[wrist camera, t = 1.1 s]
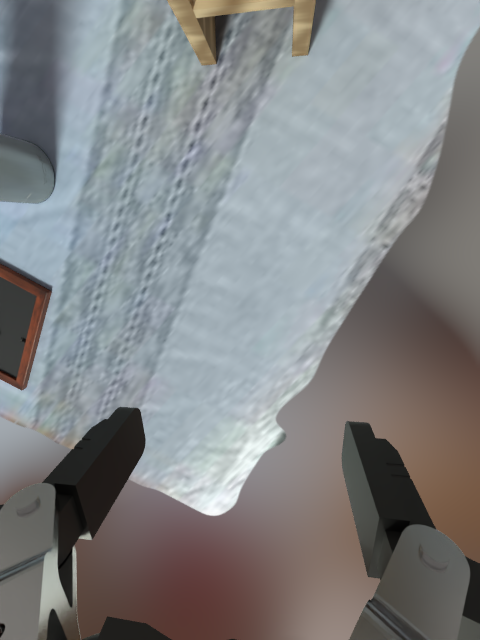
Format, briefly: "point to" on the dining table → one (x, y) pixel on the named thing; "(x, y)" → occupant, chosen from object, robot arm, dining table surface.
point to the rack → (205, 3)
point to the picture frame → (20, 325)
